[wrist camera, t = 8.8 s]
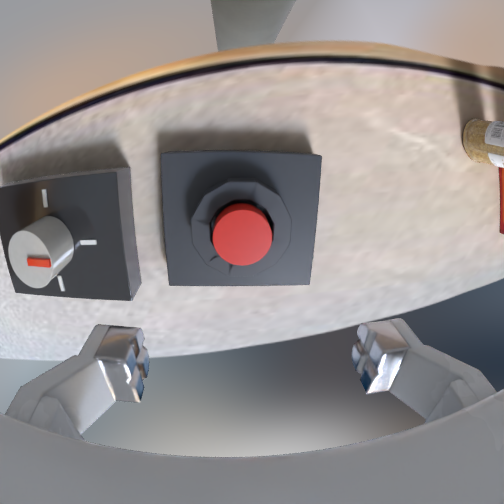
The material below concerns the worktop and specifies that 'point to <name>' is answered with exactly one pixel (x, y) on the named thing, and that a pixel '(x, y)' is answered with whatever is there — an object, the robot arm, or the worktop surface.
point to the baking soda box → (501, 199)
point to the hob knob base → (79, 230)
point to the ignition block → (232, 192)
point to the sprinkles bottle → (485, 141)
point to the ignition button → (242, 234)
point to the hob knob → (41, 251)
